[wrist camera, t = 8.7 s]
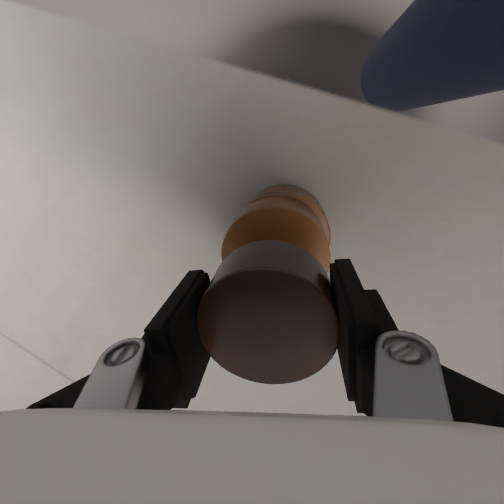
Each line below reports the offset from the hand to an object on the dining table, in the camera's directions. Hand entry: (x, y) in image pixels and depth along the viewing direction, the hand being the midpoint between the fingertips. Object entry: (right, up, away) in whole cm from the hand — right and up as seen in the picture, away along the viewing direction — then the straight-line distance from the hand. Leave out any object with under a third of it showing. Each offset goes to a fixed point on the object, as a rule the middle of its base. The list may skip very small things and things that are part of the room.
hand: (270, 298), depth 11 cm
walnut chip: (0, 0, 0) cm, 0 cm away
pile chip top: (+1, +2, +6) cm, 7 cm away
